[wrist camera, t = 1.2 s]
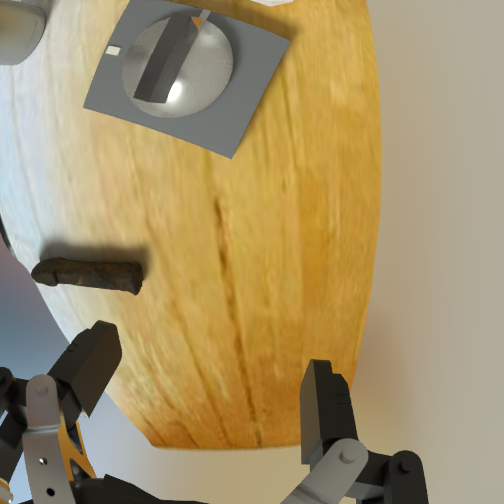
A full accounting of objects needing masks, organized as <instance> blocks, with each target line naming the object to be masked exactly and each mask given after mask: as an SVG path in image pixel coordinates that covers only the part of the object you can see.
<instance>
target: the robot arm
mask: <svg viewBox="0 0 504 504" xmlns="http://www.w3.org/2000/svg"><path fill="white" fill-rule="evenodd" d="M44 26H45V14H44V12H43V10H42V9H40V8H38V7H35V6H31V5H28V4H25V3H22V2H18V1H14V0H0V65H16V64H19V63H21V62H22V61H23V60H25V59H26V58H27V57H28V56H29V55H30V54H31V53H32V51H33V50H34V49H35V47H36V45H37V44H38V42H39V40H40V38H41V36H42V33H43V30H44ZM121 358H122V348H121V344H120V340H119V335H118V331H117V327H116V325H115V324H112V323H108V322H105V321H101V320H98V321H97V322H96V323H95V324H94V325H93V327H92V328H91V329H86V330H84V331H82V332H81V333H79V334H78V335H77V336H76V337H75V338H74V340H73V341H72V342H71V344H70V345H69V346H68V347H67V349H66V351H64V352H63V354H62V355H61V356H60V358H59V359H58V361H57V362H56V363H55V364H54V366H53V367H52V368H51V370H50V371H49V373H47V375H45V374H40V375H36V376H34V377H32V378H31V379H30V380H24V379H19V378H14V376H13V374H12V373H11V371H10V370H9V369H7V368H5V367H0V418H1V416H2V415H3V413H4V411H5V410H6V411H7V412H8V414H7V416H6V417H5V419H4V421H3V423H2V424H1V426H0V504H9V502H11V501H12V500H13V495H12V493H11V492H10V488H9V485H8V484H9V482H10V480H11V477H12V475H13V472H14V470H15V468H16V466H17V463H18V461H19V459H20V457H21V455H22V452H23V450H24V458H25V464H26V470H27V475H28V481H29V485H30V490H31V494H32V498H33V499H31V500H28V501H25V502H22V503H19V504H208V503H202V502H197V501H174V500H160V499H158V498H156V497H154V496H152V495H151V494H149V493H147V492H145V491H143V490H141V489H140V488H138V487H137V486H135V485H133V484H131V483H128V482H126V481H123V480H120V479H118V478H115V477H113V476H110V475H108V474H105V476H104V479H103V478H97V477H96V474H95V472H94V470H93V468H92V466H91V464H90V462H89V460H88V458H87V455H86V451H85V448H84V444H83V440H82V436H81V432H80V428H79V423H78V420H77V419H78V417H79V415H82V416H85V417H87V418H89V417H90V415H91V413H92V411H93V410H94V408H95V406H96V404H97V402H98V400H99V399H100V397H101V395H102V393H103V391H104V390H105V388H106V386H107V384H108V383H109V381H110V379H111V377H112V376H113V374H114V372H115V370H116V369H117V367H118V365H119V363H120V361H121ZM349 395H350V393H349V388H348V384H347V382H346V381H345V379H344V378H343V376H342V375H341V374H333V372H332V367H331V362H330V361H329V360H316V359H311V360H310V362H309V365H308V367H307V370H306V373H305V375H304V378H303V381H302V384H301V388H300V419H301V462H302V464H310V473H309V474H308V475H307V476H306V477H305V478H304V480H303V481H302V482H301V483H300V484H299V485H298V486H297V487H296V488H295V489H294V490H293V491H292V492H291V493H290V494H289V495H288V496H287V497H286V498H285V499H284V500H283V501H282V502H281V503H280V504H338V503H339V502H340V501H341V499H342V498H343V497H344V496H346V497H351V498H356V504H429V503H428V495H427V489H426V483H425V477H424V471H423V466H422V462H421V459H420V458H419V456H418V455H417V454H415V453H414V452H411V451H407V450H406V451H405V450H403V451H399V452H397V453H395V454H394V455H393V456H388V455H383V454H378V453H374V452H371V451H369V450H367V449H366V447H365V446H364V445H363V444H362V443H361V442H359V440H358V436H357V431H356V425H355V419H354V415H353V409H352V405H351V399H350V396H349Z"/></svg>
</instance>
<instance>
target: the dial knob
mask: <svg viewBox="0 0 504 504" xmlns="http://www.w3.org/2000/svg"><path fill="white" fill-rule="evenodd" d="M232 70H233V55H232V49H231V46H230V43H229V41H228V40H227V38H226V36H225V35H224V34H223V32H222V31H221V30H220V29H219V28H218V27H216V26H215V25H214V24H212V23H210V22H208V21H206V20H204V19H201V18H197V17H192V16H187V15H183V14H179V13H173V14H172V16H171V18H167V19H164V20H161V21H159V22H156V23H155V24H153V25H151V26H149V27H148V28H147V29H145V30H144V31H143V32H142V33H141V34H139V35H138V37H137V38H136V39H135V40H134V41H133V43H132V44H131V45H130V47H129V49H128V51H127V53H126V55H125V58H124V62H123V66H122V81H123V86H124V89H125V91H126V93H127V95H128V97H129V98H130V100H131V101H132V102H133V103H134V104H135V106H137V107H138V108H139V109H140V110H142V111H144V112H146V113H148V114H150V115H153V116H156V117H161V118H179V117H185V116H189V115H192V114H195V113H197V112H199V111H201V110H203V109H205V108H206V107H208V106H209V105H211V104H212V103H213V102H214V101H215V100H216V99H217V98H218V97H219V96H220V95H221V94H222V92H223V91H224V90H225V88H226V86H227V85H228V83H229V80H230V78H231V74H232Z"/></svg>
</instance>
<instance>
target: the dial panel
mask: <svg viewBox="0 0 504 504" xmlns="http://www.w3.org/2000/svg"><path fill="white" fill-rule="evenodd" d="M173 13H179V14H183V15H187V16H192V17H197V18H201V19H204V20H206V21H208V22H210V23H212V24H214V25H215V26H216V27H218V28H219V29H220V30H221V31H222V32H223V34H224V35H225V36H226V38H227V40H228V41H229V43H230V46H231V49H232V55H233V70H232V74H231V78H230V80H229V83H228V85H227V86H226V88H225V90H224V91H223V92H222V94H221V95H220V96H219V97H218V98H217V99H216V100H215V101H214V102H213V103H212V104H211V105H209V106H208V107H206V108H205V109H203V110H201V111H199V112H197V113H195V114H192V115H189V116H185V117H179V118H161V117H156V116H153V115H150V114H148V113H146V112H144V111H142V110H140V109H139V108H138V107H137V106H135V104H134V103H133V102H132V101H131V100H130V98H129V97H128V95H127V93H126V91H125V89H124V86H123V81H122V66H123V62H124V58H125V55H126V53H127V51H128V49H129V47H130V45H131V44H132V43H133V41H134V40H135V39H136V38H137V37H138V35H139V34H141V33H142V32H143V31H144V30H145V29H147V28H148V27H149V26H151V25H153V24H155V23H156V22H159V21H161V20H164V19H167V18H171V16H172V14H173ZM290 42H291V41H290V40H288V39H285V38H283V37H281V36H279V35H276V34H274V33H271V32H269V31H267V30H264V29H262V28H259V27H256V26H254V25H251V24H248V23H246V22H243V21H240V20H237V19H234V18H231V17H228V16H225V15H222V14H218V13H215V12H211V11H210V10H206V9H200V8H196V7H192V6H188V5H184V4H179V3H175V2H170V1H164V0H130V2H129V3H128V5H127V7H126V9H125V10H124V12H123V14H122V16H121V18H120V20H119V21H118V23H117V25H116V27H115V29H114V31H113V33H112V35H111V37H110V40H109V42H108V44H107V46H106V48H105V50H104V53H103V55H102V57H101V60H100V62H99V65H98V67H97V70H96V72H95V75H94V77H93V80H92V83H91V85H90V88H89V91H88V94H87V97H86V100H85V103H84V106H83V108H86V109H90V110H93V111H97V112H100V113H104V114H107V115H110V116H114V117H117V118H120V119H123V120H126V121H130V122H133V123H136V124H139V125H142V126H145V127H148V128H151V129H154V130H157V131H159V132H162V133H165V134H168V135H171V136H174V137H176V138H179V139H182V140H184V141H187V142H190V143H192V144H195V145H198V146H200V147H203V148H205V149H208V150H210V151H213V152H215V153H218V154H220V155H223V156H225V157H228V158H230V159H232V158H233V155H234V153H235V151H236V149H237V147H238V145H239V142H240V140H241V138H242V136H243V134H244V132H245V130H246V128H247V125H248V123H249V121H250V119H251V117H252V115H253V113H254V111H255V109H256V107H257V105H258V103H259V101H260V99H261V97H262V95H263V93H264V91H265V89H266V87H267V85H268V83H269V81H270V79H271V77H272V75H273V73H274V71H275V69H276V68H277V66H278V64H279V62H280V60H281V58H282V56H283V54H284V53H285V51H286V49H287V47H288V45H289V43H290Z"/></svg>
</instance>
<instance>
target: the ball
mask: <svg viewBox="0 0 504 504" xmlns="http://www.w3.org/2000/svg"><path fill="white" fill-rule="evenodd" d="M251 1H254V2H257V3H261V4H263V5H266V6H269V7H271V6H275V5H280V4H285V3H290V2H293V1H294V0H251Z"/></svg>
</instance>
